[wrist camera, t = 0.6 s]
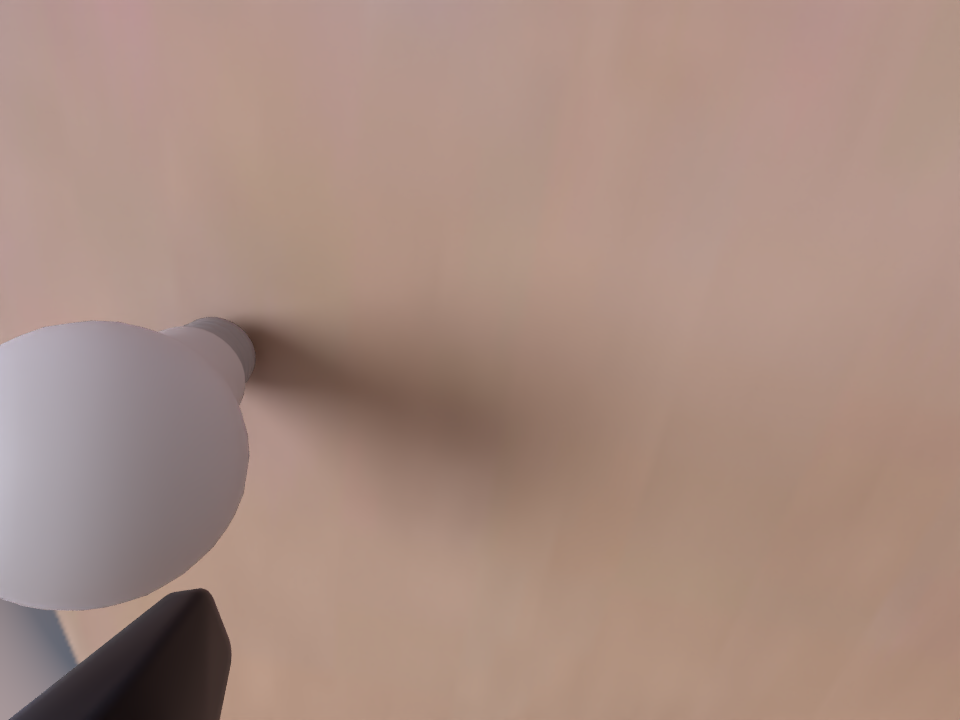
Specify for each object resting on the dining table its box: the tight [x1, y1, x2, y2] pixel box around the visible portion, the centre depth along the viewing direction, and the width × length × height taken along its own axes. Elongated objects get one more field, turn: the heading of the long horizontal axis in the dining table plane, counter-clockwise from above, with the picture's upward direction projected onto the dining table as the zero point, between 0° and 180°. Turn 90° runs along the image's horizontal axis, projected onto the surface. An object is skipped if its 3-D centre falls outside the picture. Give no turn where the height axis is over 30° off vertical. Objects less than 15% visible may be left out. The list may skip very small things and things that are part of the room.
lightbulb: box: [0, 317, 256, 610], centre depth 16 cm, size 6×6×11 cm
